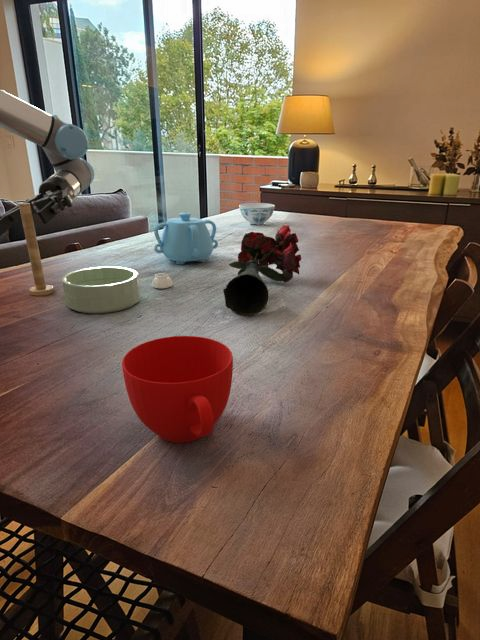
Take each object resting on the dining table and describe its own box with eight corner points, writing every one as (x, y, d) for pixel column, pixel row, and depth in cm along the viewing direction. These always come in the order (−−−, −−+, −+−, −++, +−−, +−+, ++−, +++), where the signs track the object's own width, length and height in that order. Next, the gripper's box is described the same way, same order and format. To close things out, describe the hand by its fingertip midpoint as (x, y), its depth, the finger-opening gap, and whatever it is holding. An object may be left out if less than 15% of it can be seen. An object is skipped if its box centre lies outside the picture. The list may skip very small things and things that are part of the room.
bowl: (55, 300, 102) (50, 274, 99) (120, 287, 111) (117, 263, 109) (84, 320, 91) (79, 291, 89) (153, 303, 101) (150, 277, 98)
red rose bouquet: (253, 350, 98) (260, 291, 128) (322, 299, 92) (313, 250, 122) (202, 296, 92) (223, 248, 123) (273, 239, 86) (276, 203, 117)
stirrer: (26, 291, 107) (7, 203, 99) (49, 287, 110) (32, 201, 102) (34, 297, 104) (15, 205, 95) (57, 292, 107) (40, 203, 98)
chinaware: (276, 221, 201) (277, 203, 198) (271, 227, 188) (271, 208, 184) (243, 220, 203) (243, 202, 200) (235, 226, 190) (235, 206, 187)
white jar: (150, 284, 113) (154, 290, 109) (149, 273, 112) (153, 278, 108) (169, 282, 115) (175, 288, 111) (169, 271, 114) (174, 276, 110)
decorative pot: (224, 257, 141) (223, 211, 135) (195, 269, 128) (193, 219, 122) (181, 251, 147) (178, 207, 141) (149, 262, 134) (144, 214, 128)
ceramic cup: (151, 495, 47) (141, 413, 43) (122, 413, 61) (113, 345, 57) (264, 462, 52) (265, 386, 48) (213, 393, 66) (211, 329, 62)
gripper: (107, 192, 118) (72, 227, 102) (29, 215, 125) (-15, 252, 108) (92, 163, 113) (53, 195, 97) (12, 189, 120) (-37, 223, 104)
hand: (17, 225), depth 103 cm, fingers open, 13 cm apart
